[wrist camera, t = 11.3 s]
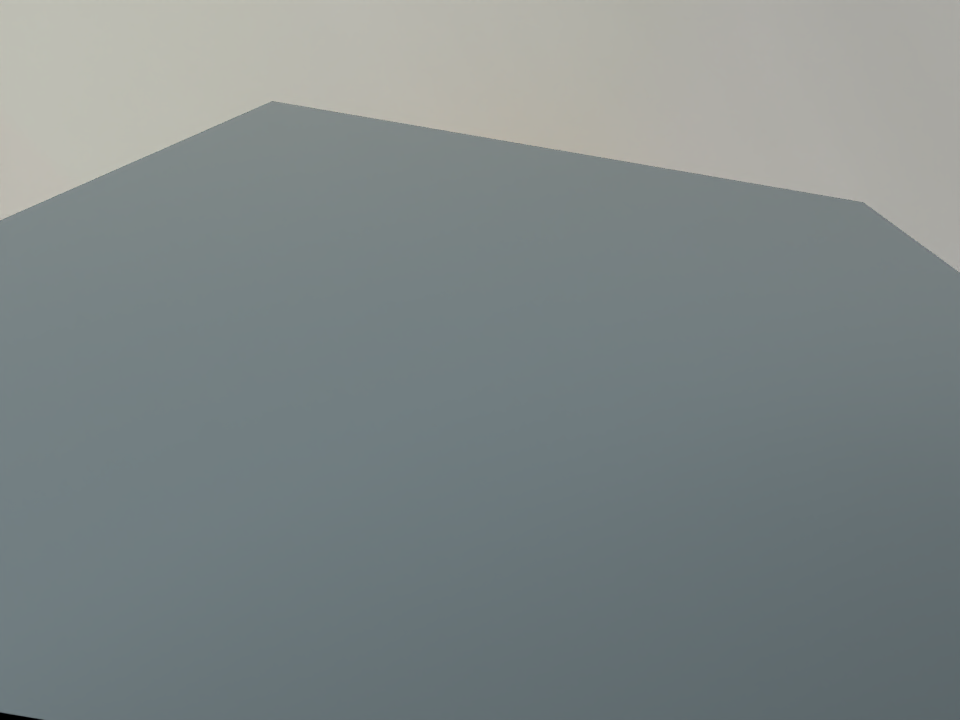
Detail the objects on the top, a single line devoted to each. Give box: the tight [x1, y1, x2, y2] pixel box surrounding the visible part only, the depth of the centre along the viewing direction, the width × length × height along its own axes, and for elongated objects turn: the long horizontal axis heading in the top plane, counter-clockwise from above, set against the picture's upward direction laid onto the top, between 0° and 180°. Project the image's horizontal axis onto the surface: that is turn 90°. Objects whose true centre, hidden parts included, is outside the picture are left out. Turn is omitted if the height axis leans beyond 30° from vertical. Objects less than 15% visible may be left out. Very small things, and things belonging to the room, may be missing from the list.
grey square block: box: [0, 101, 960, 720], centre depth 7 cm, size 8×8×9 cm
